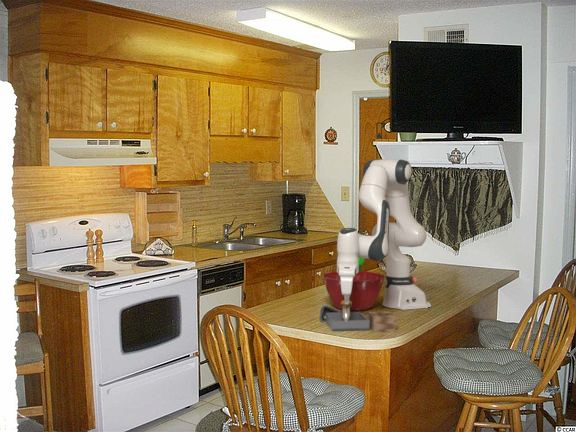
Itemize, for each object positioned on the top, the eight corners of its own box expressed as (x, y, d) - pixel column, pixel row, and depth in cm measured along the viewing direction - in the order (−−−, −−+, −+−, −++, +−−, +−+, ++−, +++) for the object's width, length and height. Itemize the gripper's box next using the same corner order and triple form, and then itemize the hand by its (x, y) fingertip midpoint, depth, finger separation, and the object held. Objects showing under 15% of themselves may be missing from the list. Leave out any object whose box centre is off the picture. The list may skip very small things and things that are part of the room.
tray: (360, 321, 266) (360, 311, 266) (369, 330, 251) (369, 320, 251) (325, 322, 264) (325, 312, 264) (332, 331, 250) (332, 321, 249)
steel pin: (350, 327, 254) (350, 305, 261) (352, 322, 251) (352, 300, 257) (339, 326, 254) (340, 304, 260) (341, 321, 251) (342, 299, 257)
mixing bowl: (312, 304, 299) (312, 271, 298) (366, 299, 309) (366, 268, 308) (338, 317, 273) (338, 282, 271) (395, 312, 283) (396, 278, 281)
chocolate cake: (344, 318, 273) (324, 299, 274) (349, 317, 267) (328, 297, 267) (330, 334, 271) (310, 315, 271) (334, 334, 264) (313, 314, 264)
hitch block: (389, 325, 259) (389, 311, 258) (396, 331, 250) (396, 316, 249) (368, 326, 258) (368, 312, 257) (373, 332, 249) (374, 317, 248)
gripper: (341, 264, 267) (340, 296, 268) (338, 272, 247) (338, 307, 248) (356, 264, 266) (355, 296, 267) (354, 272, 246) (354, 307, 247)
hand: (347, 301), depth 257 cm, fingers open, 7 cm apart
